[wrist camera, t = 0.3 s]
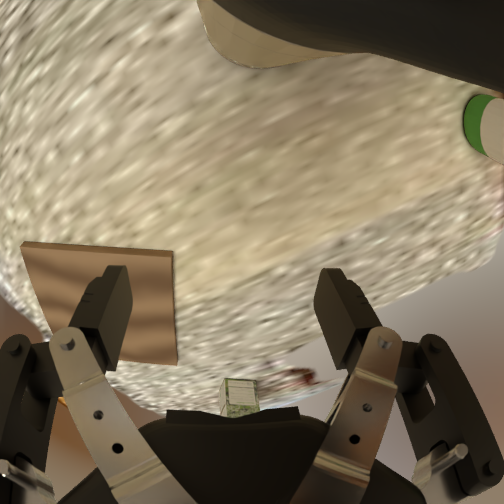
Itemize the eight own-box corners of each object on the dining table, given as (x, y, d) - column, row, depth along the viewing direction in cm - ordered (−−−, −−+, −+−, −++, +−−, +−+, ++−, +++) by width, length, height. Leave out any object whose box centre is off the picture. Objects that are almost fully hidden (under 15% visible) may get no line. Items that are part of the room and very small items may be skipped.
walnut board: (24, 241, 28) (19, 246, 27) (172, 251, 31) (170, 257, 30) (62, 344, 39) (60, 350, 38) (177, 359, 42) (177, 365, 41)
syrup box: (218, 392, 49) (222, 465, 37) (224, 376, 46) (229, 456, 34) (248, 394, 50) (256, 464, 38) (256, 379, 47) (267, 455, 35)
